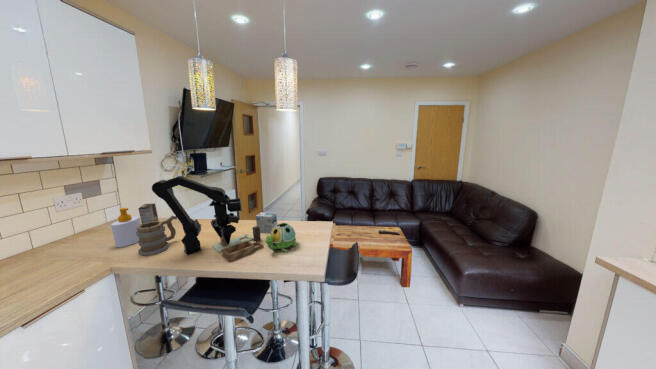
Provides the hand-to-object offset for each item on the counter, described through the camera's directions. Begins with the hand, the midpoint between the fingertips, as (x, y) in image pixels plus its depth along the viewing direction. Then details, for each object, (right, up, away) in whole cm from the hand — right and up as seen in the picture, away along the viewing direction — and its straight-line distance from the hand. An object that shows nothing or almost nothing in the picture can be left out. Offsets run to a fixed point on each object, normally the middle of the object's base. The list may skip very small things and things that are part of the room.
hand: (224, 240), depth 127 cm
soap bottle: (-57, -3, +9) cm, 58 cm away
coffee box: (-58, +1, +27) cm, 64 cm away
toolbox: (+12, -4, -6) cm, 14 cm away
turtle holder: (+31, -3, -3) cm, 31 cm away
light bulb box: (+18, +1, +19) cm, 26 cm away
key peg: (+15, -1, +6) cm, 17 cm away
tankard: (-35, -4, +3) cm, 35 cm away
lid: (+3, -2, +4) cm, 5 cm away
